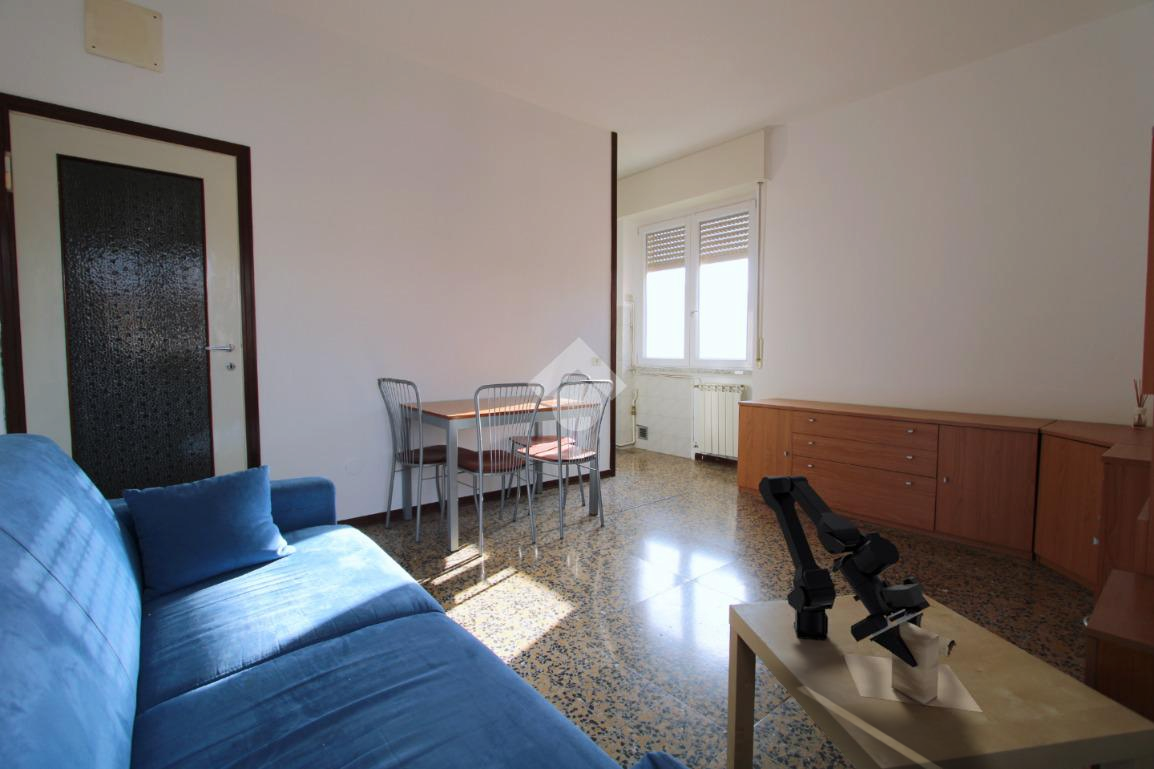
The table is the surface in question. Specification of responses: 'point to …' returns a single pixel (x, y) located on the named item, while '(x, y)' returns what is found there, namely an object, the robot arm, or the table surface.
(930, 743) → the table surface
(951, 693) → the white flat sheet
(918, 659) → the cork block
